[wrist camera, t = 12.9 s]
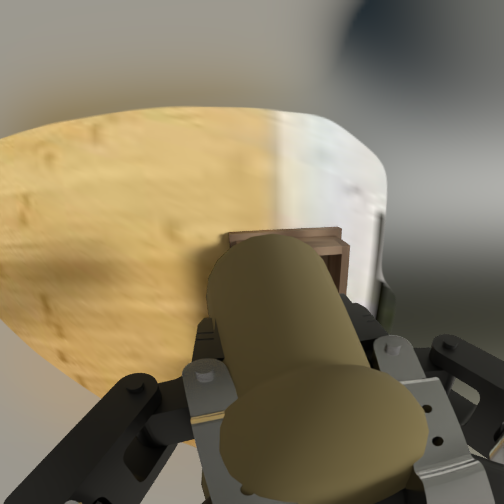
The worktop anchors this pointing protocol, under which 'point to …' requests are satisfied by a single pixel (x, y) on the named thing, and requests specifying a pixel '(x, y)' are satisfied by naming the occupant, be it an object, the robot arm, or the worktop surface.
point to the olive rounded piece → (304, 384)
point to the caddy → (321, 241)
